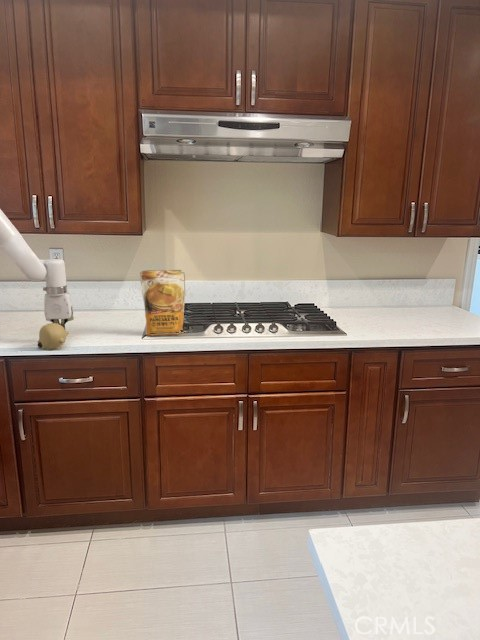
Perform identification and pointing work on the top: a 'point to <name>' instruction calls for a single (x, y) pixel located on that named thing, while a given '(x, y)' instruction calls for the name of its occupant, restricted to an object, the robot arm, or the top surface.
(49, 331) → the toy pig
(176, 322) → the pancake mix bag
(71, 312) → the robot arm
